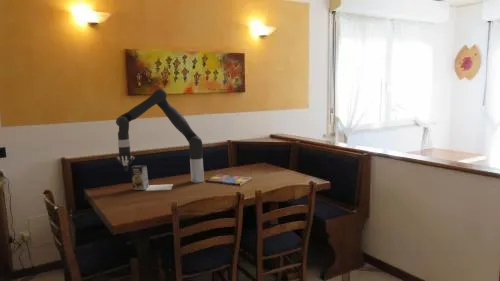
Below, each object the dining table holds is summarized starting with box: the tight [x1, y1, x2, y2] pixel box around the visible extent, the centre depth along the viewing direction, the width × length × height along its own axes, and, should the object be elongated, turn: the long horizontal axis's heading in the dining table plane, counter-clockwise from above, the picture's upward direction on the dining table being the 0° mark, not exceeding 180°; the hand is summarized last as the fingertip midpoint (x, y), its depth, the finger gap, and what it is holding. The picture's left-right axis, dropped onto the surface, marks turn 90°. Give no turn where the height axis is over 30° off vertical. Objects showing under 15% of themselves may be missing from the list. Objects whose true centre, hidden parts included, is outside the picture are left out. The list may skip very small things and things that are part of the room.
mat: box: [145, 183, 174, 192], centre depth 274 cm, size 17×13×1 cm
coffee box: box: [130, 164, 149, 191], centre depth 271 cm, size 9×6×16 cm
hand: (126, 170), depth 269 cm, fingers closed
